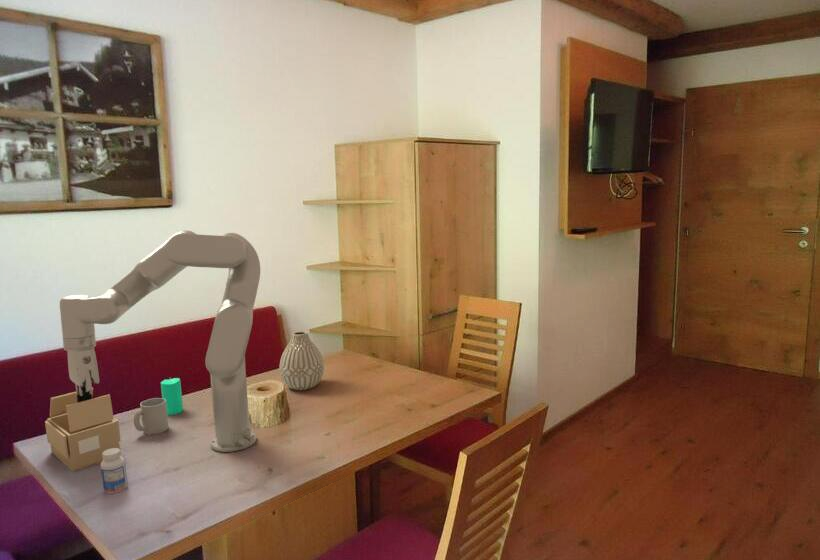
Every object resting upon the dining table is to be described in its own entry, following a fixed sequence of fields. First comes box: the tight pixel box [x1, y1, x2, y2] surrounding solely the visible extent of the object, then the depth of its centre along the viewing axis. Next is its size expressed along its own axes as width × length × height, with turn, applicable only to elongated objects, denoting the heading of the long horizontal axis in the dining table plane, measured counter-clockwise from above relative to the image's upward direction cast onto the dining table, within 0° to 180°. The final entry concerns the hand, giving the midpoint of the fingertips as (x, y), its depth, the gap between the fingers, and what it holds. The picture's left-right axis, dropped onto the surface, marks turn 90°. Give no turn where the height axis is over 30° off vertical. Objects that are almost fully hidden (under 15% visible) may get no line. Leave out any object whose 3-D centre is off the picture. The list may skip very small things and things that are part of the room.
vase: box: [278, 330, 325, 391], centre depth 218 cm, size 16×16×20 cm
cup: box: [133, 397, 169, 436], centre depth 183 cm, size 7×10×9 cm
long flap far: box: [49, 387, 94, 418], centre depth 172 cm, size 1×11×7 cm, turn 137°
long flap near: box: [66, 393, 115, 432], centre depth 161 cm, size 1×11×7 cm, turn 136°
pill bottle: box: [100, 448, 129, 494], centre depth 149 cm, size 6×5×10 cm
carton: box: [44, 413, 122, 472], centre depth 169 cm, size 18×14×10 cm
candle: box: [160, 377, 184, 416], centre depth 199 cm, size 6×6×12 cm
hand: (85, 408), depth 163 cm, fingers closed
